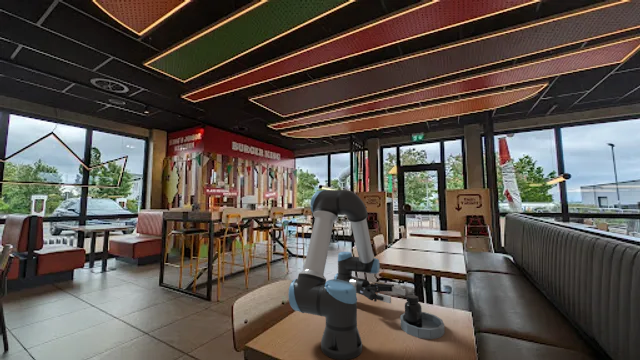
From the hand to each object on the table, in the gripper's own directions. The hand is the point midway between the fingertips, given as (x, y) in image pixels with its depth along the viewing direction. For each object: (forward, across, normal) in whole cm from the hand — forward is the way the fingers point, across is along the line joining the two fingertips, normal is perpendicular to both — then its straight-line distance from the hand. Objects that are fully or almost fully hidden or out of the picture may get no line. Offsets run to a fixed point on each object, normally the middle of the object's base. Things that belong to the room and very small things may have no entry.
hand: (398, 296), depth 120 cm
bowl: (+10, 0, -11) cm, 15 cm away
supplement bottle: (+8, +3, -10) cm, 13 cm away
